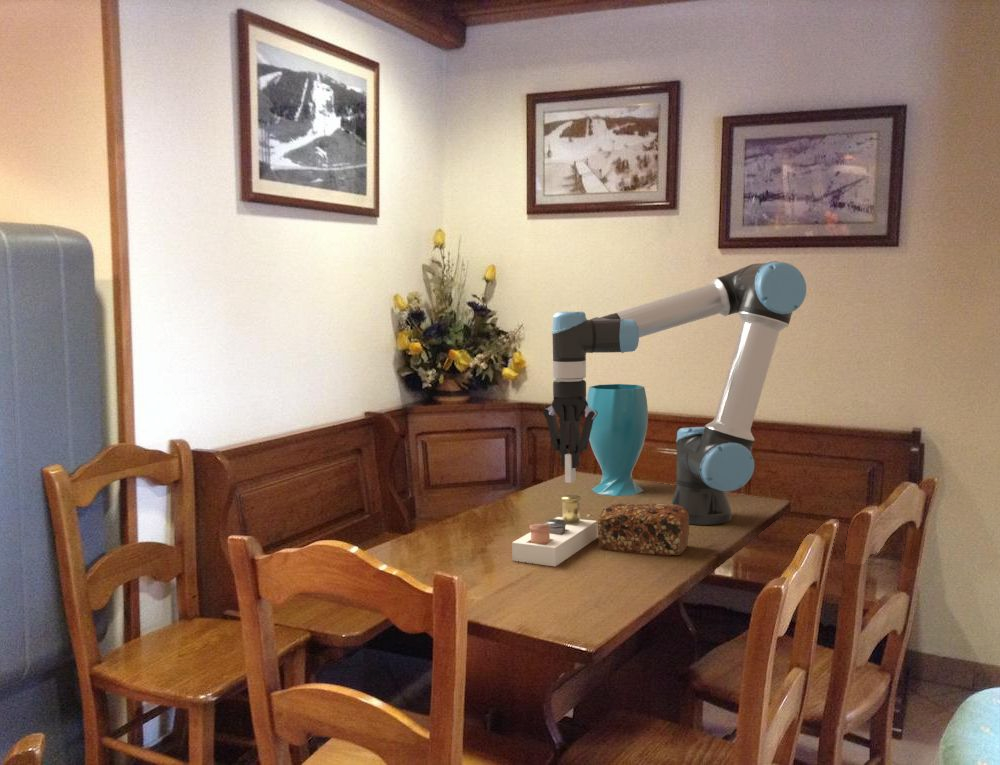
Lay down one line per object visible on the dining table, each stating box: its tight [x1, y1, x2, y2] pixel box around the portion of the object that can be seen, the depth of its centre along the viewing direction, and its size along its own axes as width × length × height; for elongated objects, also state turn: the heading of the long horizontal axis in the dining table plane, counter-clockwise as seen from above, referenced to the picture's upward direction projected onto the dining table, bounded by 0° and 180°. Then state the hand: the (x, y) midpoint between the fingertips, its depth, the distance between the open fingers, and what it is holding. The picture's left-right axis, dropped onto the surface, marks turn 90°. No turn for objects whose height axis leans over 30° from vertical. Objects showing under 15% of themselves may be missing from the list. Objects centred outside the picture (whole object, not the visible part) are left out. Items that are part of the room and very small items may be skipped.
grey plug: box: [545, 518, 566, 535], centre depth 197 cm, size 4×4×6 cm
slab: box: [511, 516, 598, 567], centre depth 197 cm, size 10×24×4 cm, turn 153°
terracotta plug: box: [529, 523, 550, 545], centre depth 189 cm, size 4×4×6 cm
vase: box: [586, 383, 649, 497], centre depth 254 cm, size 17×17×30 cm
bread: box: [597, 502, 690, 556], centre depth 197 cm, size 19×11×10 cm, turn 65°
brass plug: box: [560, 494, 582, 524], centre depth 204 cm, size 4×4×6 cm
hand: (570, 481), depth 204 cm, fingers closed
